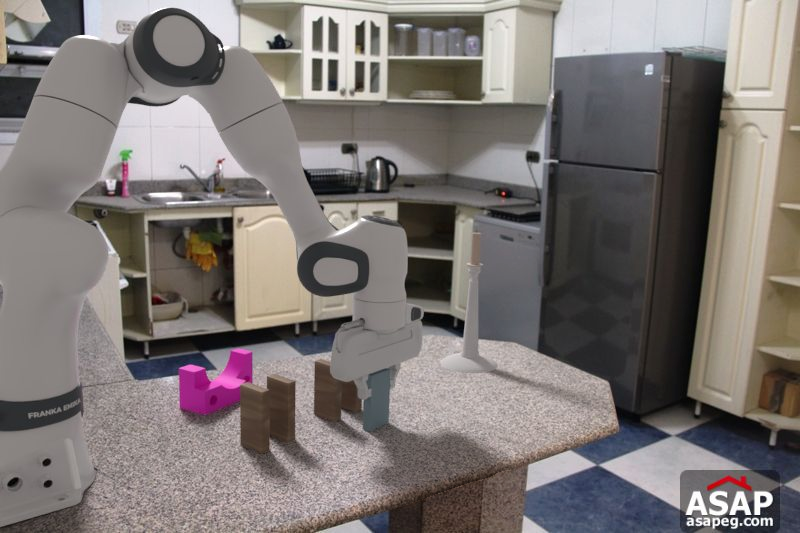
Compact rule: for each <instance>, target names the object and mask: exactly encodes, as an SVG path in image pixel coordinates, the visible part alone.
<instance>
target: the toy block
mask: <svg viewBox="0 0 800 533" xmlns="http://www.w3.org/2000/svg"><path fill="white" fill-rule="evenodd" d="M229 352H230V353H229V357H228V361H227V364H226V366H225V368H224V370H223V371H222V372H221V374H219V375H218V376H217V377H216V378H215V379H212V380H210V378H209V377H208V374H207V370H206V368H205V367H202V366H199V365H194V364H187V365H184V366H182V367H179V368H178V379H179V380H178V385H179V386H178V388H179V409H180V408H182V409H181V410H184V409H186V410H185V411H187V410H189V411H188V412H194V413H197V414H201V415H204V416H207V415H208V414H211V413H213V412H215V411H218V410H220V409H222V408H225V407H227V406H230V405H232V404H234V403H237V402H240V385H241V384H244V383H247V382H249V383H252V384H254V382H253V381H254V379H253V374H254V373H253V368H254V367H253V360H254V358H253V351H252V350H251V351H250V350H247V349H243V348H235V349H232V350H231V349H230V351H229Z"/></svg>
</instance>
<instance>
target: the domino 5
mask: <svg viewBox="0 0 800 533" xmlns="http://www.w3.org/2000/svg"><path fill="white" fill-rule="evenodd" d="M390 371H391V369H388V368H385V369H382V370H379V371H377V372H374V373H371V374H368V380H367V381H366V384H367V386H368V387H369V388H371V397H370V398H368V399H365V400H363V402H362V403H363V404H362V405H363V406H362V408H363V411H362V412H363V413H362V430H363V429H364V430H363V431H366V430H367V432H369V431H371V432H373V431H375V430H377V429H379V428H381V427H383V426H385V425H387V424H389V423H390V397H391V396H390V395H391V389H390ZM386 423H387V424H386ZM382 425H383V426H382ZM380 426H381V427H380ZM378 427H379V428H378ZM376 428H377V429H376ZM374 429H375V430H374ZM372 430H373V431H372Z"/></svg>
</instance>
